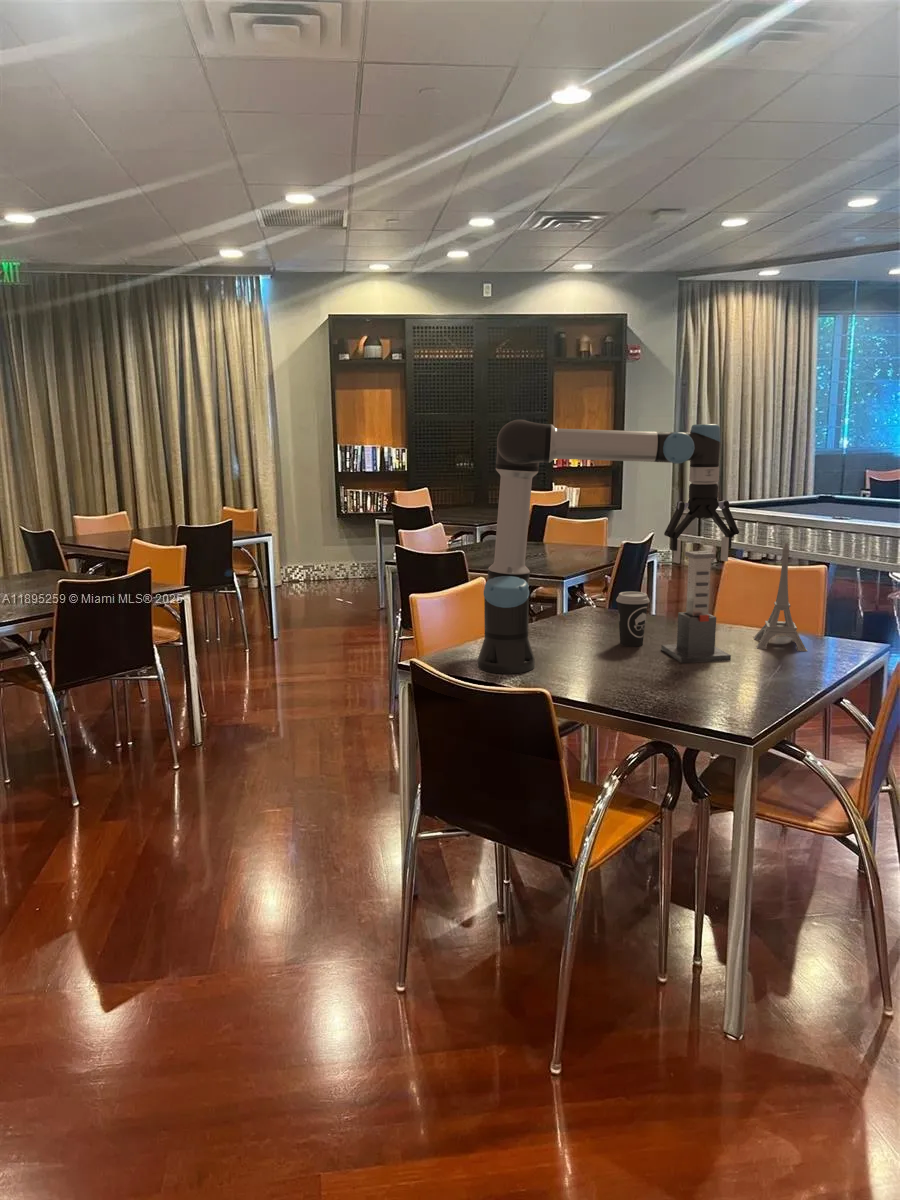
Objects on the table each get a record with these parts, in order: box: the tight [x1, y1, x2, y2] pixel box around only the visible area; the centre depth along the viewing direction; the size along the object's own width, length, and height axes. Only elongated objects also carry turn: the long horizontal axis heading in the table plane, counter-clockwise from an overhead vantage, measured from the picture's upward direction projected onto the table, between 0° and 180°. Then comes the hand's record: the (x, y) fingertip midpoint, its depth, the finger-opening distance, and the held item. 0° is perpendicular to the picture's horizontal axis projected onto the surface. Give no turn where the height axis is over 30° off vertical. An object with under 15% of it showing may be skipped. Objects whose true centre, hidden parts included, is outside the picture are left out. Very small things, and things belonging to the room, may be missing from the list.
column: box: [684, 550, 716, 618], centre depth 225 cm, size 6×6×27 cm
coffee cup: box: [615, 591, 650, 648], centre depth 239 cm, size 10×10×15 cm
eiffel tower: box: [753, 542, 808, 652], centre depth 235 cm, size 13×13×30 cm
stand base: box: [660, 611, 732, 664], centre depth 226 cm, size 14×14×12 cm
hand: (700, 561), depth 222 cm, fingers open, 13 cm apart
